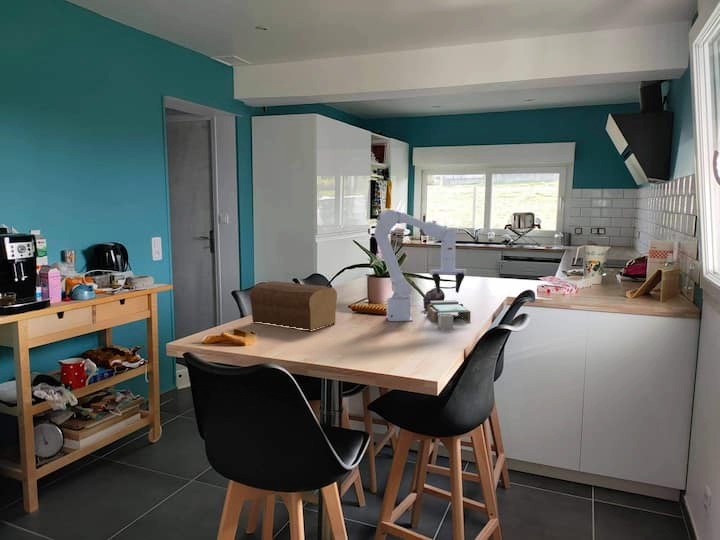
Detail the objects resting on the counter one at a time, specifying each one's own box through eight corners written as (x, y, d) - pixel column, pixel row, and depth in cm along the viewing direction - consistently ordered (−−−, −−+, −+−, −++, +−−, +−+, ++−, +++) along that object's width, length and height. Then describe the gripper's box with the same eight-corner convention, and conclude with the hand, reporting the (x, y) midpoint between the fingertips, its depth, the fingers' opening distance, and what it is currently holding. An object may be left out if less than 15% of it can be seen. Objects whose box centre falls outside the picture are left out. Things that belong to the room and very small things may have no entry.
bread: (280, 315, 227) (279, 277, 225) (338, 323, 211) (337, 282, 209) (249, 324, 212) (247, 283, 210) (309, 333, 196) (308, 289, 194)
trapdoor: (430, 306, 226) (430, 300, 226) (455, 305, 227) (455, 300, 227) (439, 314, 209) (439, 308, 209) (467, 314, 210) (467, 308, 210)
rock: (420, 312, 236) (443, 313, 232) (419, 294, 233) (442, 294, 230) (426, 304, 246) (448, 304, 242) (425, 286, 244) (447, 286, 240)
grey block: (441, 329, 199) (441, 316, 198) (438, 327, 203) (438, 313, 203) (453, 329, 199) (453, 316, 199) (449, 326, 204) (450, 313, 203)
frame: (426, 315, 224) (427, 303, 224) (461, 314, 225) (461, 302, 225) (434, 322, 210) (434, 310, 210) (470, 321, 212) (470, 309, 211)
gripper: (432, 260, 212) (432, 294, 213) (468, 259, 213) (468, 293, 214) (428, 258, 219) (428, 291, 220) (464, 257, 220) (463, 290, 221)
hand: (447, 292), depth 218 cm, fingers open, 7 cm apart
